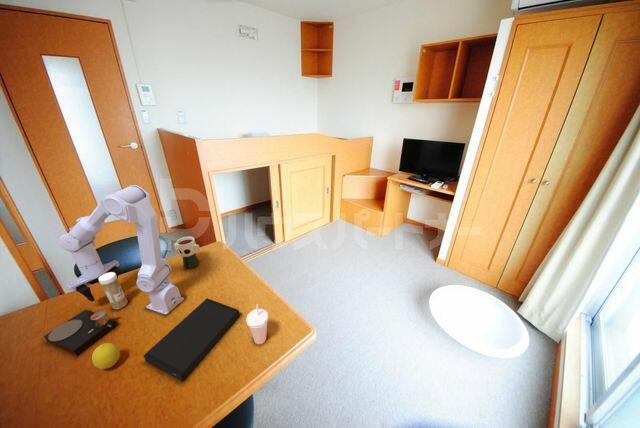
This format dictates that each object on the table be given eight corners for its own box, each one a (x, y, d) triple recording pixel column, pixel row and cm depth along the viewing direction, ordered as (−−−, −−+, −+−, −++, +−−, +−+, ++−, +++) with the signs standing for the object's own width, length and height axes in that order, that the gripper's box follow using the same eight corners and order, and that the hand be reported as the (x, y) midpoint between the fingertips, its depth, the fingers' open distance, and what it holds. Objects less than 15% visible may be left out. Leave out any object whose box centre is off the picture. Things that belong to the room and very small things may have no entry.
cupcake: (106, 316, 78) (101, 308, 77) (111, 321, 77) (107, 312, 75) (92, 324, 76) (87, 316, 74) (98, 329, 74) (93, 320, 72)
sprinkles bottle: (127, 306, 86) (114, 277, 80) (111, 312, 83) (96, 282, 78) (128, 298, 89) (115, 269, 83) (113, 303, 87) (99, 274, 81)
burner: (88, 324, 76) (88, 323, 76) (58, 344, 69) (58, 344, 69) (73, 317, 78) (72, 316, 78) (42, 337, 71) (42, 336, 71)
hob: (126, 322, 80) (123, 316, 78) (80, 357, 69) (76, 351, 67) (94, 310, 84) (91, 304, 83) (47, 341, 73) (43, 335, 72)
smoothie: (274, 333, 77) (271, 301, 71) (263, 351, 71) (259, 317, 65) (257, 327, 79) (252, 295, 73) (245, 344, 73) (239, 311, 67)
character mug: (175, 269, 105) (167, 244, 99) (184, 259, 111) (178, 235, 106) (199, 270, 104) (193, 245, 99) (207, 260, 111) (201, 236, 105)
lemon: (103, 379, 63) (91, 360, 60) (95, 368, 66) (83, 349, 63) (127, 362, 68) (117, 343, 64) (118, 352, 70) (108, 333, 67)
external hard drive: (239, 316, 83) (238, 309, 81) (183, 382, 63) (180, 375, 62) (208, 304, 87) (206, 298, 86) (146, 362, 68) (142, 355, 66)
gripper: (104, 248, 88) (117, 277, 93) (53, 272, 75) (72, 304, 81) (117, 252, 86) (130, 281, 91) (68, 277, 73) (86, 309, 79)
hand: (104, 292), depth 86 cm, fingers open, 7 cm apart
